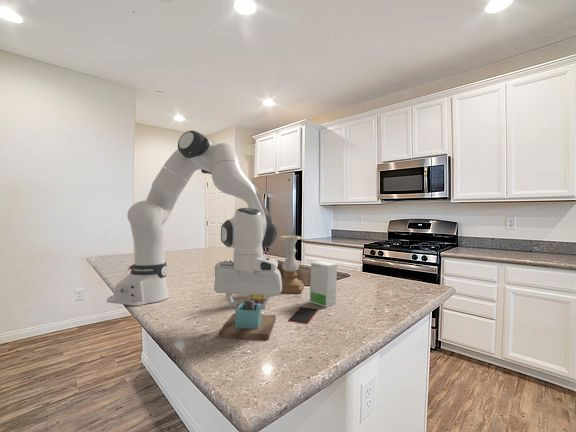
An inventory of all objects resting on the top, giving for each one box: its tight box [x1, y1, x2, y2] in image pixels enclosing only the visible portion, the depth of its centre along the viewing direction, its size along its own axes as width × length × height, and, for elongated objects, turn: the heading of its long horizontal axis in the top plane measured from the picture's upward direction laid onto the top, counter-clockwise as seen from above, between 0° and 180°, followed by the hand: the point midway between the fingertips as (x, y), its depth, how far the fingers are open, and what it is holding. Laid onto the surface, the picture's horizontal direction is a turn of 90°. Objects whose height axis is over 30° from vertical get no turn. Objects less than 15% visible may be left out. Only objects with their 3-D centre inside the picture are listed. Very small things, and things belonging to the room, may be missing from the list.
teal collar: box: [234, 302, 263, 329], centre depth 84 cm, size 7×7×5 cm
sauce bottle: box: [249, 250, 266, 304], centre depth 108 cm, size 7×6×20 cm
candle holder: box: [278, 235, 305, 295], centre depth 125 cm, size 11×11×24 cm
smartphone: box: [287, 306, 319, 325], centre depth 95 cm, size 7×1×14 cm
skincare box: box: [309, 260, 338, 308], centre depth 107 cm, size 8×7×16 cm
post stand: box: [218, 299, 277, 340], centre depth 84 cm, size 14×14×8 cm
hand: (248, 308), depth 84 cm, fingers open, 8 cm apart
